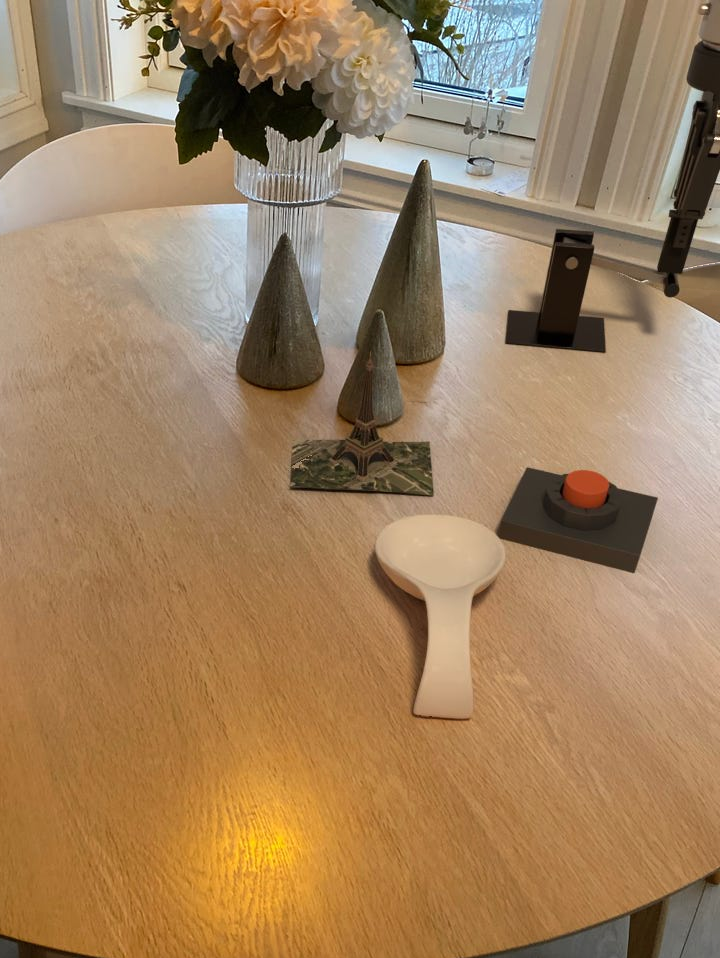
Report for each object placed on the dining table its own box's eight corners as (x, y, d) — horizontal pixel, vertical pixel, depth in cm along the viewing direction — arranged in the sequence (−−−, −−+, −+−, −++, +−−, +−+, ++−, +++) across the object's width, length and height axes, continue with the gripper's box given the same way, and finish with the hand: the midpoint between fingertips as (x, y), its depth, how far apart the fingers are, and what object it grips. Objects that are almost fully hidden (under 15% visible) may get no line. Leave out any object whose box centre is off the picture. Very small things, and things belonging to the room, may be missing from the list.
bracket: (601, 327, 128) (626, 227, 119) (603, 360, 122) (629, 257, 113) (506, 319, 130) (524, 220, 121) (503, 351, 124) (521, 249, 115)
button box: (652, 515, 99) (663, 481, 96) (634, 574, 92) (645, 540, 90) (523, 484, 103) (529, 451, 100) (497, 538, 97) (503, 505, 94)
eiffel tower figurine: (287, 493, 103) (289, 376, 94) (292, 439, 110) (294, 327, 101) (433, 498, 102) (449, 381, 92) (429, 444, 109) (443, 330, 100)
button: (608, 490, 96) (613, 475, 95) (600, 513, 93) (604, 497, 92) (567, 480, 97) (571, 465, 96) (557, 502, 95) (561, 487, 93)
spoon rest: (371, 538, 97) (377, 476, 92) (493, 543, 96) (505, 481, 91) (372, 718, 80) (379, 655, 75) (520, 726, 79) (537, 663, 74)
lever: (670, 280, 121) (679, 262, 119) (673, 302, 116) (683, 283, 115) (556, 249, 121) (564, 230, 120) (556, 269, 117) (564, 250, 115)
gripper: (690, 26, 106) (633, 246, 122) (702, 58, 97) (638, 291, 113) (765, 28, 105) (697, 250, 121) (784, 62, 95) (708, 297, 112)
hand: (669, 270), depth 117 cm, fingers closed
